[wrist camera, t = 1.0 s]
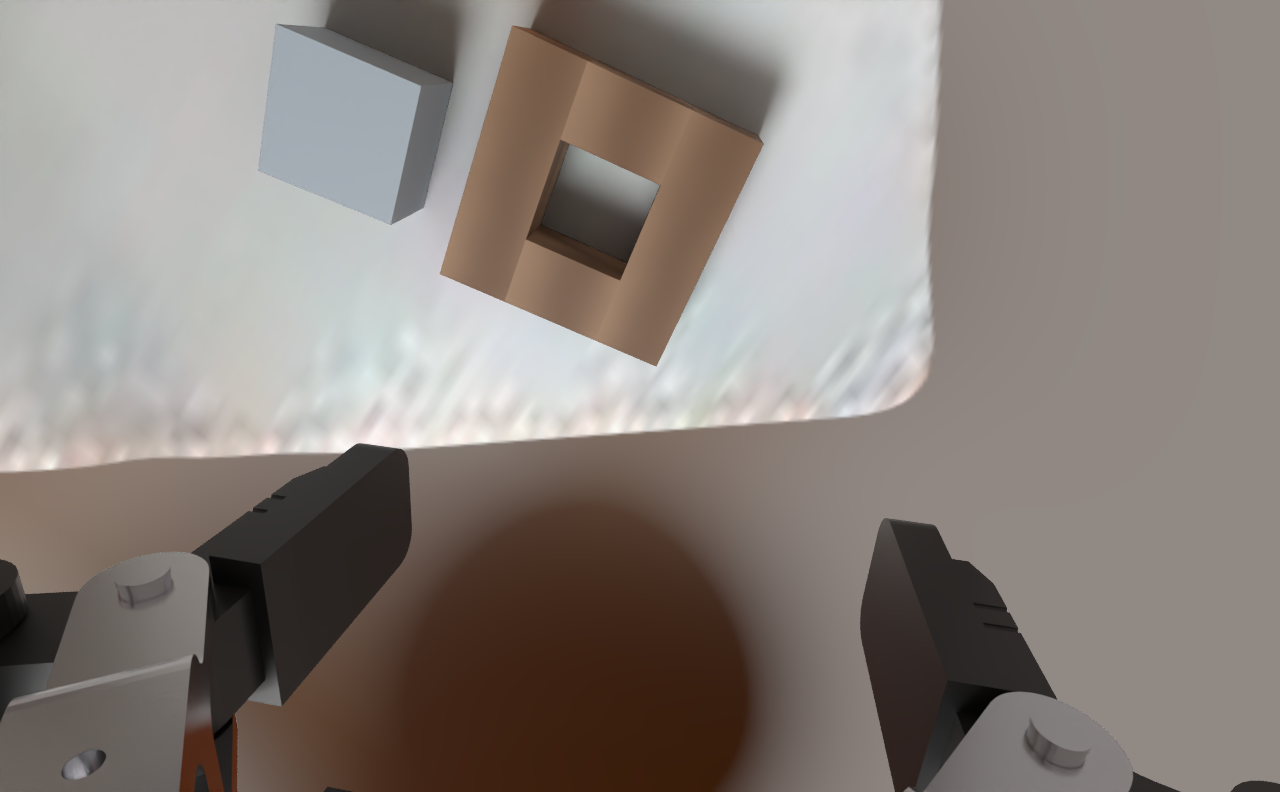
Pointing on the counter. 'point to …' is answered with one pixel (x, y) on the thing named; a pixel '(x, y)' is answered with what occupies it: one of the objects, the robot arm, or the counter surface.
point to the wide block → (351, 122)
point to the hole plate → (624, 135)
